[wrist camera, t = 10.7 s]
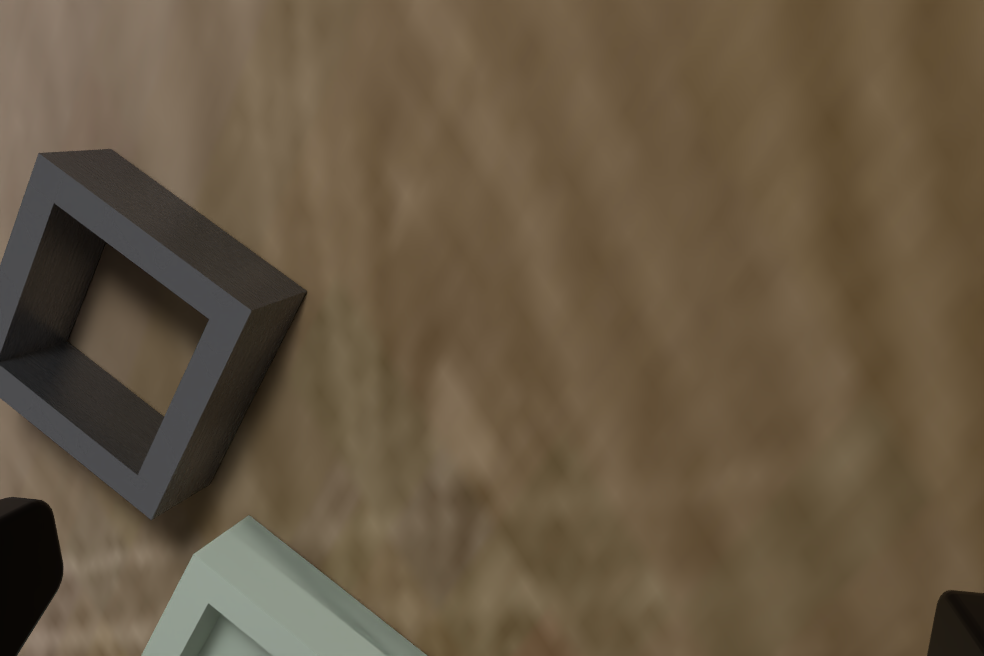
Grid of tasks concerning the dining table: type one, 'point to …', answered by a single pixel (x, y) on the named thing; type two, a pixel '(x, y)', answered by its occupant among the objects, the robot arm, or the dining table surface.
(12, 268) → the socket
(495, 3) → the dining table surface
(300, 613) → the tray
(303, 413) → the dining table surface
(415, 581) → the dining table surface
